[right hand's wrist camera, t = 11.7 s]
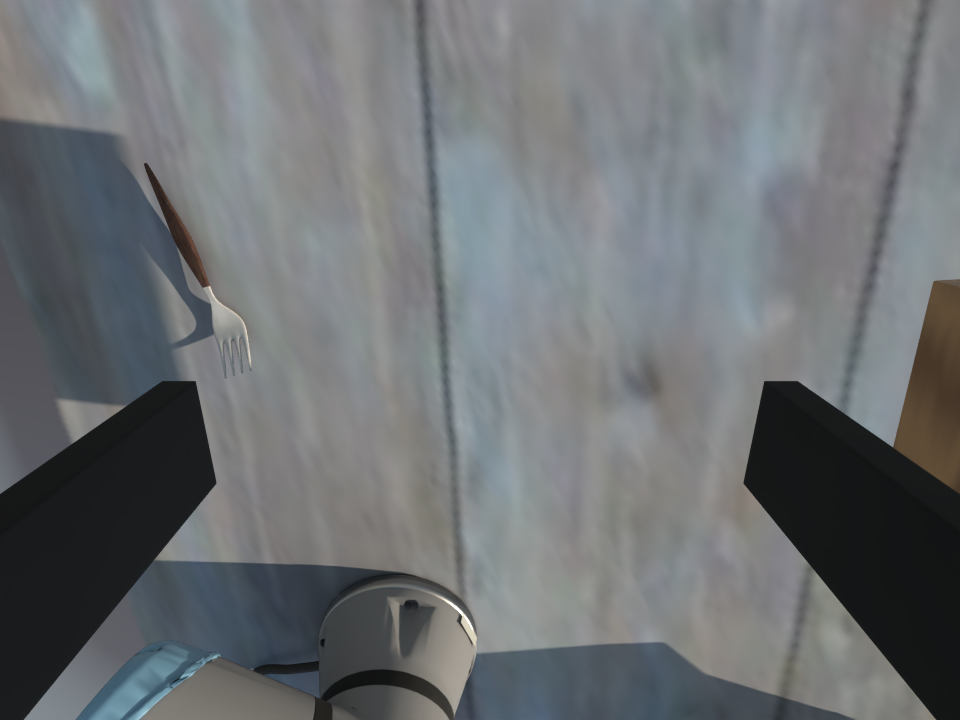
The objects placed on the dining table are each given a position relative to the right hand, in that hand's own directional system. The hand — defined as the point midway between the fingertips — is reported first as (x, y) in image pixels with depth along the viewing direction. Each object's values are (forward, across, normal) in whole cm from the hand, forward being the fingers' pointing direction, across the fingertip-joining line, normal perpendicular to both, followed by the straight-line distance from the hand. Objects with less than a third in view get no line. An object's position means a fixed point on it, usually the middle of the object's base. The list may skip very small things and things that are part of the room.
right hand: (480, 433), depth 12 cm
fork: (+29, +21, +2) cm, 36 cm away
